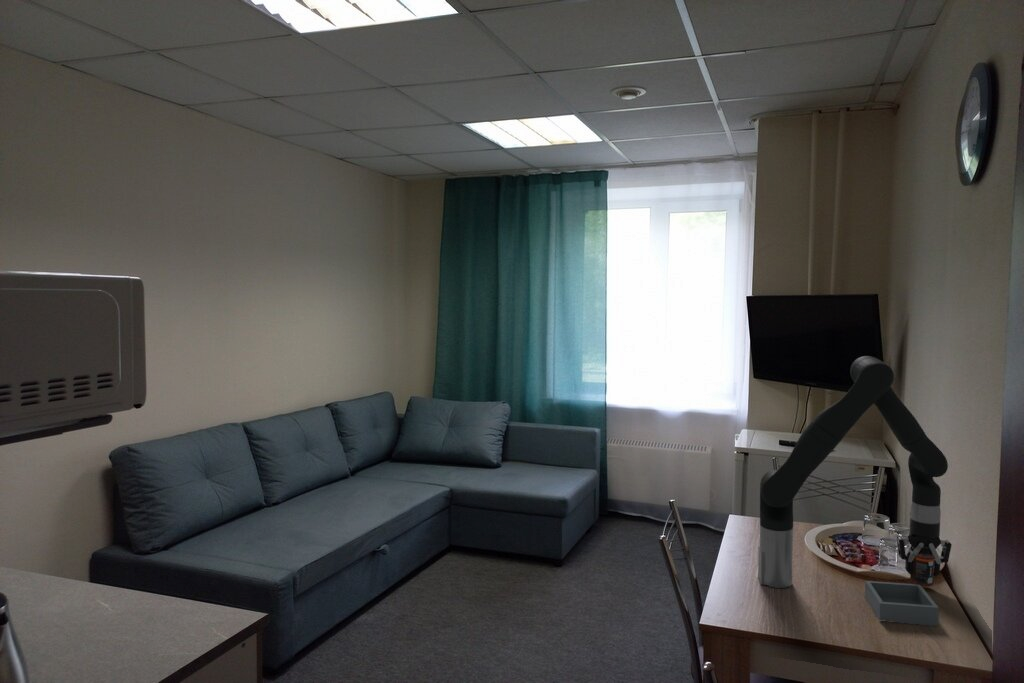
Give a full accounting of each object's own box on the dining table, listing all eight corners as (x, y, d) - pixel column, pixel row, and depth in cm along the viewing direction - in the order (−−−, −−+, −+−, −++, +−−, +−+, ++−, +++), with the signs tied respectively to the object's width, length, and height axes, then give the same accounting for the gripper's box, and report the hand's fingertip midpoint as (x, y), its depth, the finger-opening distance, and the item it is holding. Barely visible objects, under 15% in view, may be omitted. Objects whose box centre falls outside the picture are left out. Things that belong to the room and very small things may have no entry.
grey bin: (879, 621, 186) (879, 603, 185) (864, 597, 199) (865, 580, 199) (938, 626, 183) (938, 607, 182) (919, 601, 196) (920, 584, 196)
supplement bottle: (937, 588, 201) (939, 549, 200) (914, 586, 202) (916, 548, 201) (929, 579, 207) (931, 541, 206) (906, 577, 208) (908, 540, 207)
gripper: (902, 520, 201) (899, 577, 202) (958, 524, 198) (954, 581, 199) (893, 512, 208) (891, 567, 210) (947, 515, 205) (944, 571, 207)
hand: (922, 574), depth 205 cm, fingers closed on supplement bottle, 6 cm apart
